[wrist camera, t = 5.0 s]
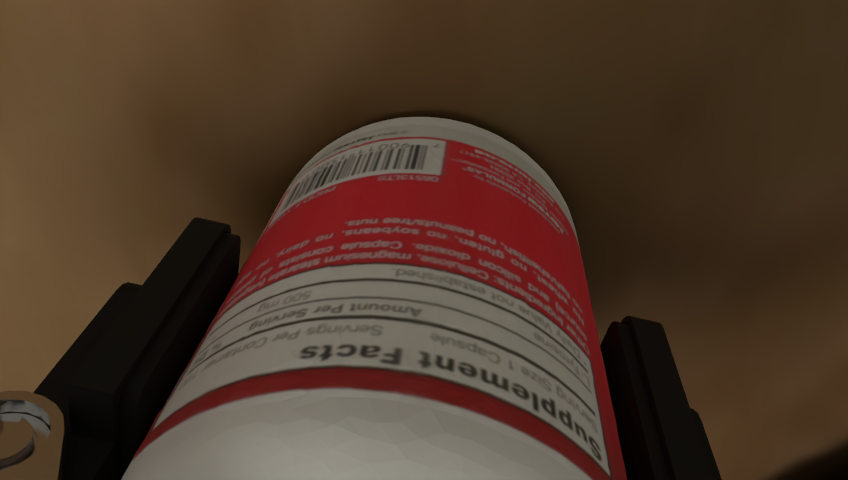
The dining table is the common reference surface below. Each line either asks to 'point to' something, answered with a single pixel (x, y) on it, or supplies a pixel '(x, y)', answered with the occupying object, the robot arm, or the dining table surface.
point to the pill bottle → (400, 328)
